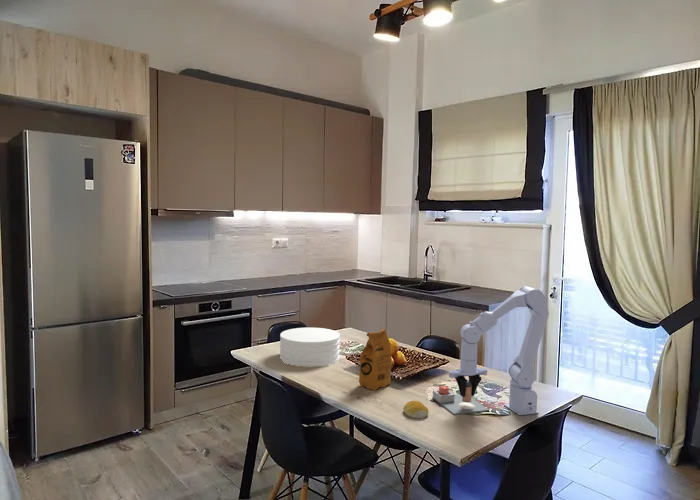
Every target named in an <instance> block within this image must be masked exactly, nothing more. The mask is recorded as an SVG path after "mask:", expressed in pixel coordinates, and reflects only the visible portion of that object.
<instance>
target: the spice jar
mask: <svg viewBox="0 0 700 500" xmlns="http://www.w3.org/2000/svg"><path fill="white" fill-rule="evenodd" d="M467 380H468V381H467V384H466V391H465V397H462V401H463V402H471V398H472V396H471V394H472V381H469V379H467Z"/></svg>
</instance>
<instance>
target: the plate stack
mask: <svg viewBox="0 0 700 500" xmlns="http://www.w3.org/2000/svg"><path fill="white" fill-rule="evenodd" d="M279 337H280V340H279V342H280V343H279V348H280V350H279V354H280V355H279V360H280V359H281V360H282V361H283V362H285V363H284V364H286V363H288V364H292V365H297V366H296V367H299V366H321V367H324V366H323V365H327V366H329V365H328V364H331V365H333V364H332V363H334V364H335V362H336V361H337V362H339V360H340V348H341V347H340V344H341V343H340V342H341V340H340V339H341V334H340V332H339V331H336V330H333V329H330V328H324V327H296V328H289V329H286V330H283V331H281V332H280V335H279ZM281 360H280V361H281ZM282 361H281V362H282ZM283 362H282V363H283ZM337 362H336V363H337ZM288 364H287V365H288ZM292 365H291V366H292Z"/></svg>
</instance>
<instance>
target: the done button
mask: <svg viewBox="0 0 700 500" xmlns="http://www.w3.org/2000/svg"><path fill="white" fill-rule="evenodd" d="M438 390H439V394H441V395H447V394H449V391H450V387H449V386H447V385H440V386H438Z"/></svg>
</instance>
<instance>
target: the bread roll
mask: <svg viewBox="0 0 700 500" xmlns="http://www.w3.org/2000/svg"><path fill="white" fill-rule="evenodd" d="M402 409H403V413H404V414H405V415H406V417H409V418H413V419H423V418H426V417H427V416H428V415H429V408H428V407H427V406H425V405H424V404H423V403H422V402H421V401H419V400H411V401H408V402H406V403H405V404H404V405H403V408H402Z"/></svg>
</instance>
